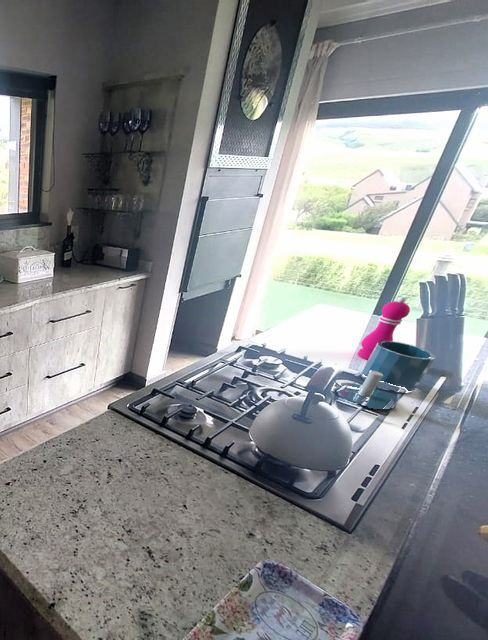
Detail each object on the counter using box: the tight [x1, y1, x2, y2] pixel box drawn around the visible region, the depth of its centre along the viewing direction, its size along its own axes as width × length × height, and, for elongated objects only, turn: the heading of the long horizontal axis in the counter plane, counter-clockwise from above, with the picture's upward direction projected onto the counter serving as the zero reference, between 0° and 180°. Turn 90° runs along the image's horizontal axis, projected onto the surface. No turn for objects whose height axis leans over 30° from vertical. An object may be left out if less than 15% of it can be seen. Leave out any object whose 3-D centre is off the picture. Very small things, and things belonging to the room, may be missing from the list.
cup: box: [360, 340, 436, 392], centre depth 112 cm, size 12×12×10 cm
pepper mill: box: [357, 296, 411, 361], centre depth 124 cm, size 7×7×20 cm
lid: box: [337, 371, 392, 410], centre depth 104 cm, size 13×13×8 cm
